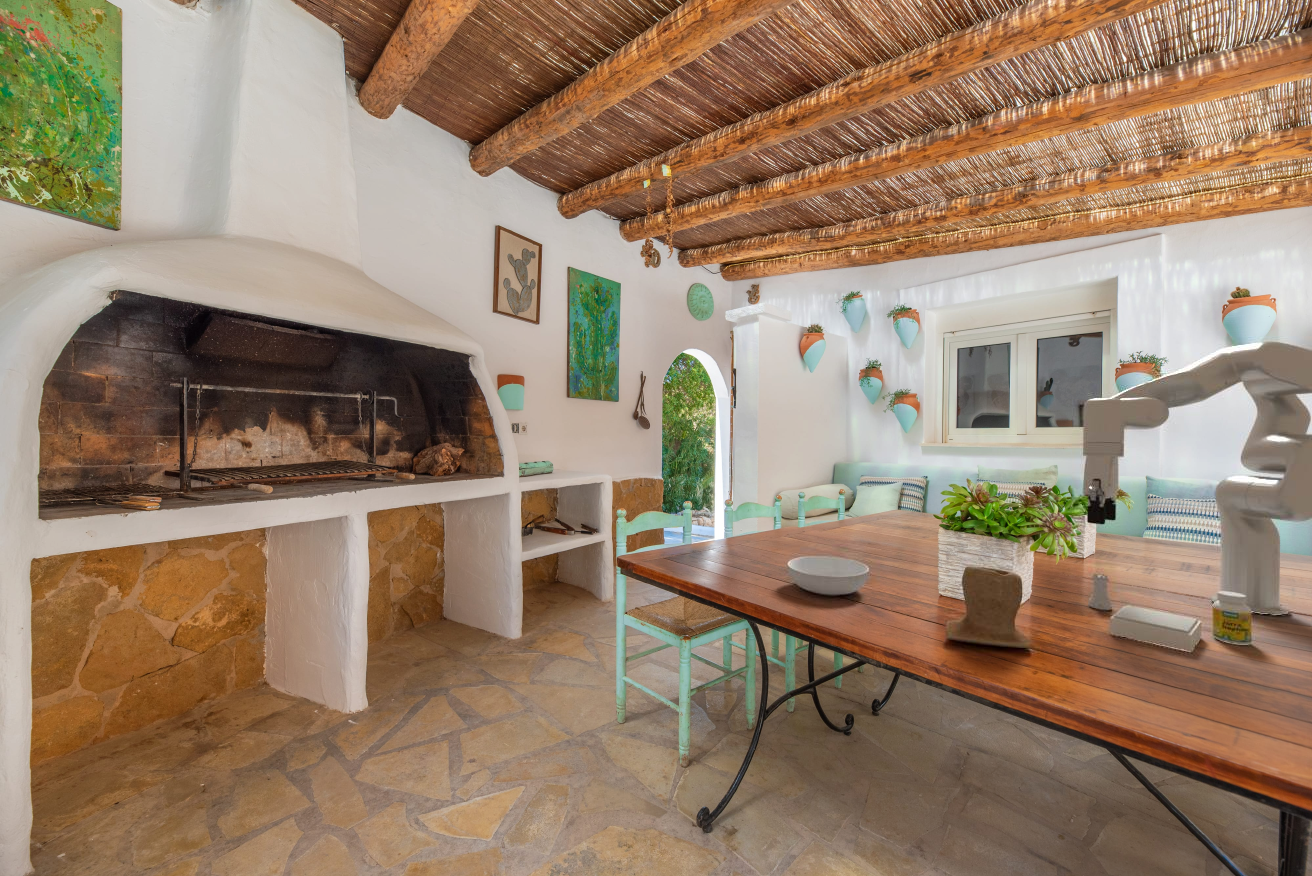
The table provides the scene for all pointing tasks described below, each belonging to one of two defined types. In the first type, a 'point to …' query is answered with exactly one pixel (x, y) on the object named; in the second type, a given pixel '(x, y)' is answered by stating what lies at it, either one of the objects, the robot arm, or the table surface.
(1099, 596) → the rook chess piece
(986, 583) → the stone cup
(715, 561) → the table surface
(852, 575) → the serving bowl
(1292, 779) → the table surface
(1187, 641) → the plinth
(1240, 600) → the supplement bottle
